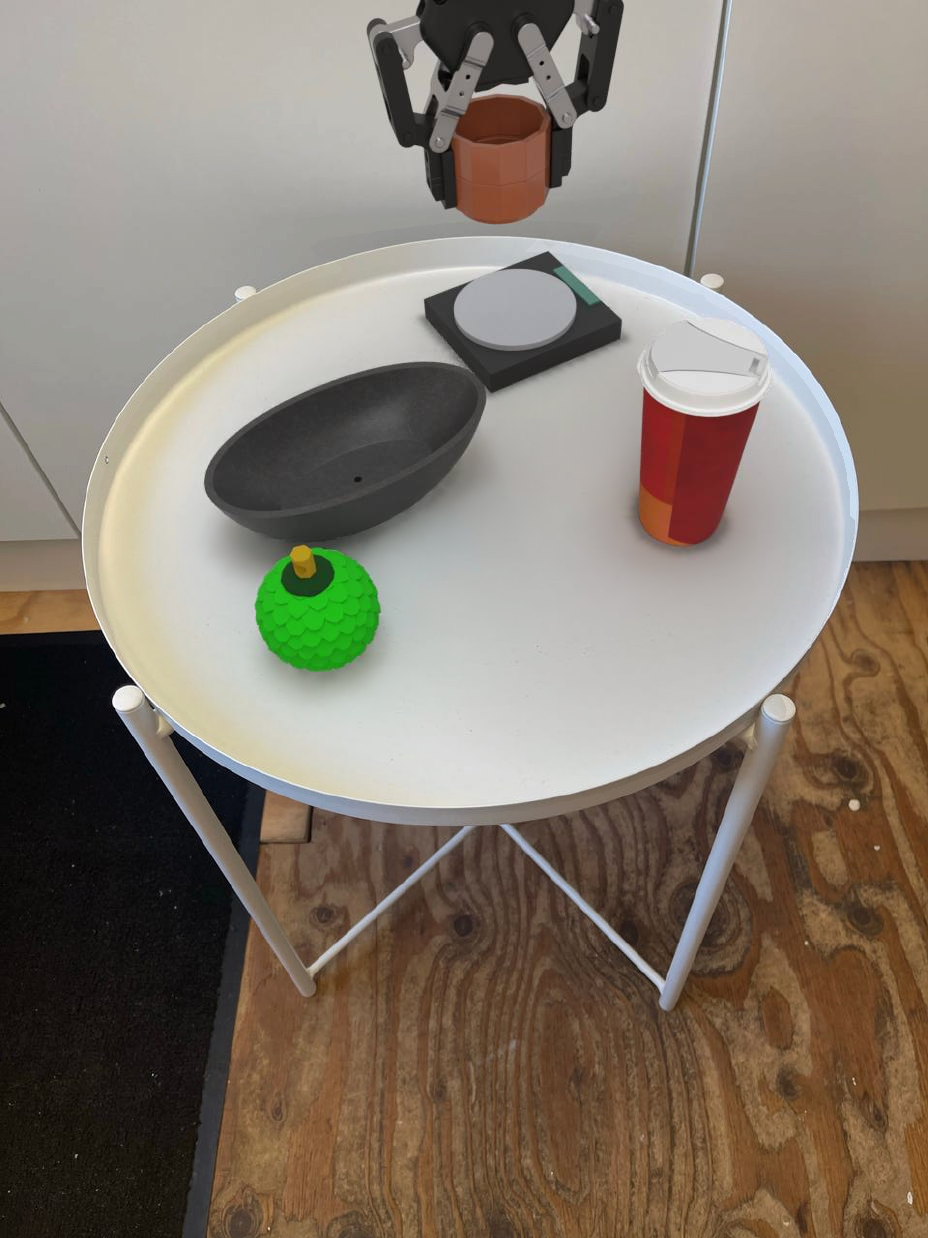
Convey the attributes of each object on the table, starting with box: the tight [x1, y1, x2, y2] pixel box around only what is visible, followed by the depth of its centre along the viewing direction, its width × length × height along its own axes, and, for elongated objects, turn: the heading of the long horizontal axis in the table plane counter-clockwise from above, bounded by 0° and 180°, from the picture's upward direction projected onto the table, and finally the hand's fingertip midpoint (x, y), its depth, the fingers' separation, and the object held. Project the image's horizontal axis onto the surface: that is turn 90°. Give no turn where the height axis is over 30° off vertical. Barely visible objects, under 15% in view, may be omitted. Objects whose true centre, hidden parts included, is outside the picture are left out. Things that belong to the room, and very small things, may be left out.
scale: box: [423, 250, 623, 394], centre depth 85 cm, size 13×12×3 cm
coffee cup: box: [636, 317, 773, 547], centre depth 66 cm, size 8×8×15 cm
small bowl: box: [450, 93, 551, 225], centre depth 58 cm, size 6×6×5 cm
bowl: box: [203, 361, 487, 543], centre depth 73 cm, size 12×22×6 cm, turn 120°
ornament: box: [254, 544, 382, 673], centre depth 63 cm, size 8×8×10 cm
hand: (499, 190), depth 59 cm, fingers closed on small bowl, 6 cm apart
